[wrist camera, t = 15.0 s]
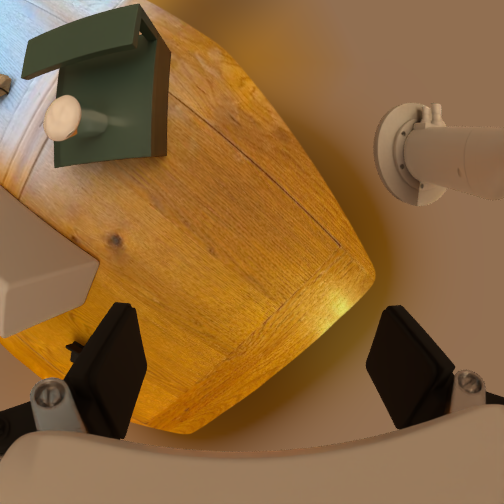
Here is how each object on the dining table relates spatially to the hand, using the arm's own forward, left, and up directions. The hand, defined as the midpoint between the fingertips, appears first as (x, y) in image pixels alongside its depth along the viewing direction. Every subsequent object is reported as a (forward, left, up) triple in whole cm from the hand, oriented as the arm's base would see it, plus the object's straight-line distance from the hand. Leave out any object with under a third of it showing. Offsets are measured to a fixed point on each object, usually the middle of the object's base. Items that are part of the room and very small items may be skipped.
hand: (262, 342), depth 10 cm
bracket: (+3, -41, -32) cm, 52 cm away
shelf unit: (-14, -17, -32) cm, 39 cm away
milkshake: (-11, -17, -24) cm, 31 cm away
